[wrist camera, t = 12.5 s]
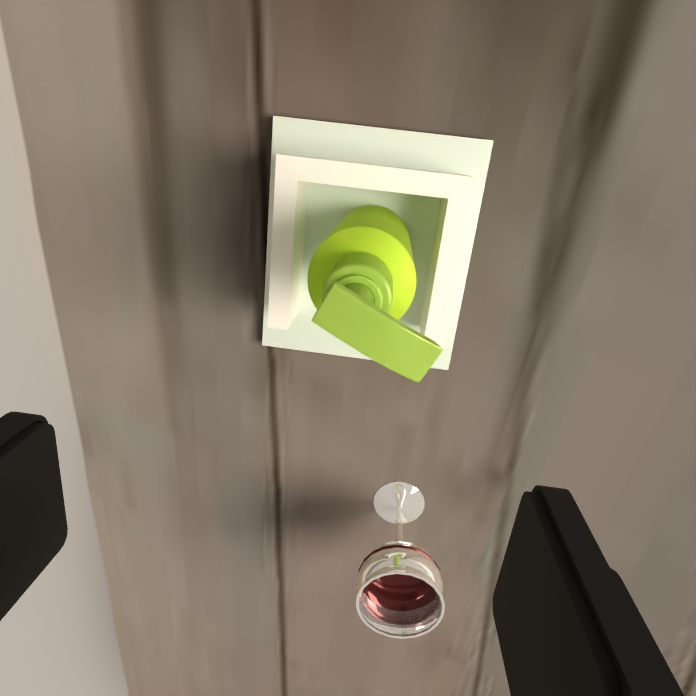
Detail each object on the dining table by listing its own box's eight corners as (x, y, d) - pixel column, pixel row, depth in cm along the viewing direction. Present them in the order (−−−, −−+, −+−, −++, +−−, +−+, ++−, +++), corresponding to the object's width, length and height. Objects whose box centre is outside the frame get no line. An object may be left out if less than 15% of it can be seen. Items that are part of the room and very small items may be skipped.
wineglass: (380, 538, 50) (376, 647, 39) (353, 486, 48) (340, 584, 37) (444, 520, 49) (458, 627, 37) (418, 464, 47) (426, 560, 35)
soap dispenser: (393, 301, 40) (393, 422, 22) (320, 255, 39) (254, 341, 21) (435, 238, 38) (475, 314, 20) (359, 189, 37) (325, 219, 19)
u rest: (276, 116, 37) (255, 109, 31) (490, 141, 36) (508, 137, 31) (264, 341, 44) (245, 367, 38) (446, 365, 43) (454, 396, 37)
